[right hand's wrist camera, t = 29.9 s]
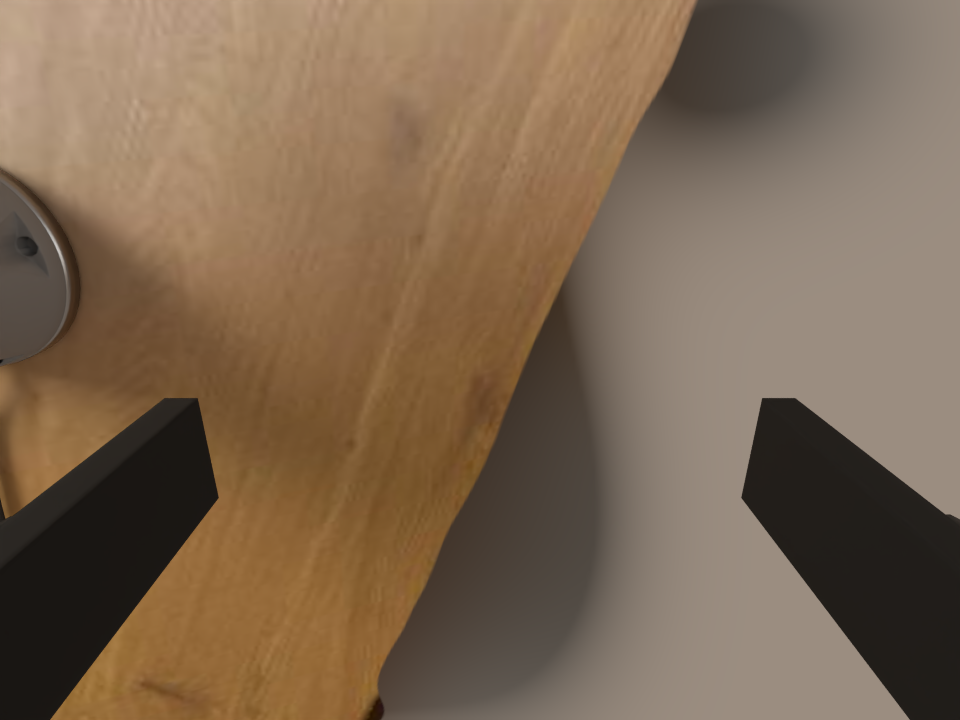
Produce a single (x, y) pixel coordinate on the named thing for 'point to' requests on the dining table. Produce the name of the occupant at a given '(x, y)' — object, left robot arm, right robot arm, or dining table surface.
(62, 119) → the dining table surface
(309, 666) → the dining table surface
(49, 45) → the dining table surface
